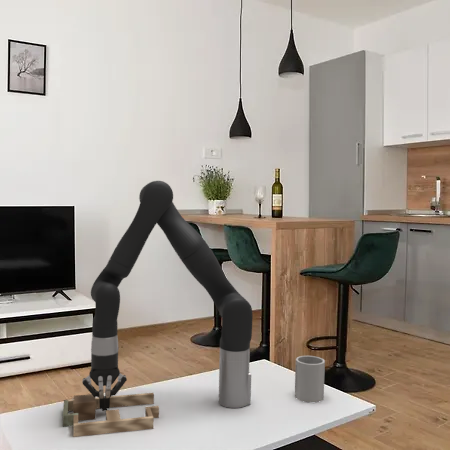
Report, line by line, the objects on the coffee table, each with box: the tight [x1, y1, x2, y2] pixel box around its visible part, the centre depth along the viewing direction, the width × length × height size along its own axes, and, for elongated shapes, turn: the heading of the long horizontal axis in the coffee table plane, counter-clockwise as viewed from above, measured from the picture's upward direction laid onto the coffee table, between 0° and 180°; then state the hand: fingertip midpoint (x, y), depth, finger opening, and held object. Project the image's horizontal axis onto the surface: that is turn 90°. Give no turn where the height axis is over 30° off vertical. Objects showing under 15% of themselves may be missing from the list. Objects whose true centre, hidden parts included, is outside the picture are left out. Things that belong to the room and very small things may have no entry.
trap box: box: [62, 392, 160, 438], centre depth 148 cm, size 26×18×3 cm
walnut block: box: [72, 393, 97, 422], centre depth 150 cm, size 6×6×5 cm
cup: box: [294, 355, 326, 403], centre depth 167 cm, size 9×9×12 cm
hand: (104, 409), depth 151 cm, fingers closed
